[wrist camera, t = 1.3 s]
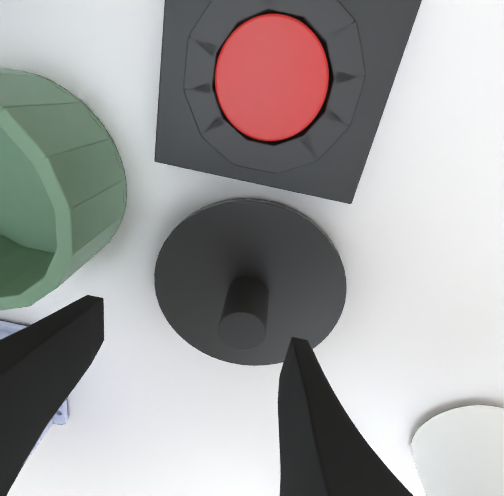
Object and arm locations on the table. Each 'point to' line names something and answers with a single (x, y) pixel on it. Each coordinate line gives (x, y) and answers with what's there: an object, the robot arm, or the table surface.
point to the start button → (271, 77)
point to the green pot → (51, 187)
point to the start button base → (324, 124)
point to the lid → (249, 281)
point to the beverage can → (462, 452)
